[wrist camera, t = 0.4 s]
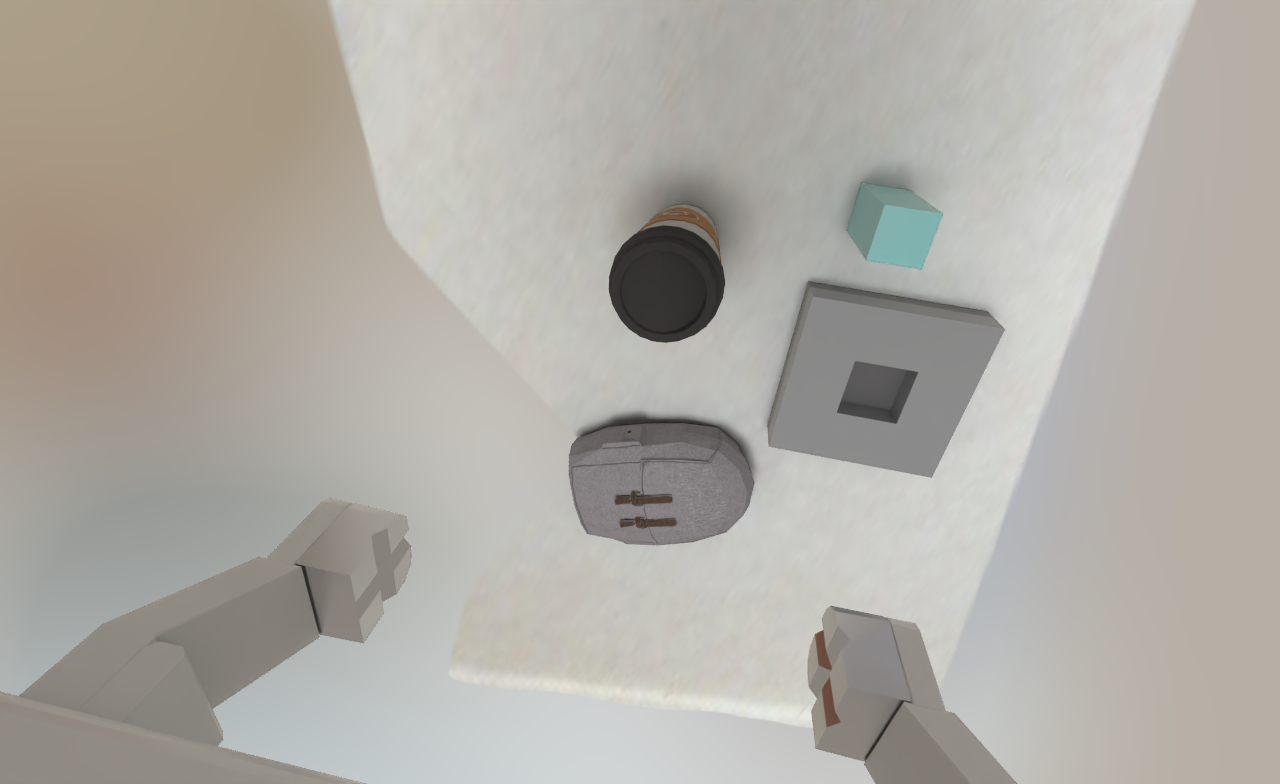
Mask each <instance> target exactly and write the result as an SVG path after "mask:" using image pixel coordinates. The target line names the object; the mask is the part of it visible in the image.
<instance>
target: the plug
mask: <svg viewBox="0 0 1280 784" xmlns="http://www.w3.org/2000/svg"><path fill="white" fill-rule="evenodd" d="M942 216H943V213H941V212H940V211H938V210H937V209H936V208H934V207H933V206H931V205H930V204H929V203H927V202H926V201H925V200H923V199H922V198H920V197H919V196H918V195H916V194H915V193H913V192H912V191H911V190H905V189H899V188H892V187H886V186H879V185H873V184H866V183H861V186H860V190H859V193H858V196H857V199H856V203H855V206H854V209H853V212H852V216H851V219H850V222H849V225H848V229H847V231H848V233H849V235H850V236H851V238H852V239H853V241H854V242H855V244H856V245H857V247H858V249H859V250H860V252H861V253H862V255H863V256H864V258H865V259H866V260H867V261H873V262H879V263H885V264H891V265H897V266H903V267H909V268H915V269H922V267H923V265H924V262H925V260H926V257H927V254H928V252H929V249H930V247H931V244H932V241H933V239H934V236H935V234H936V231H937V229H938V226H939V223H940V221H941V218H942Z"/></svg>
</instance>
